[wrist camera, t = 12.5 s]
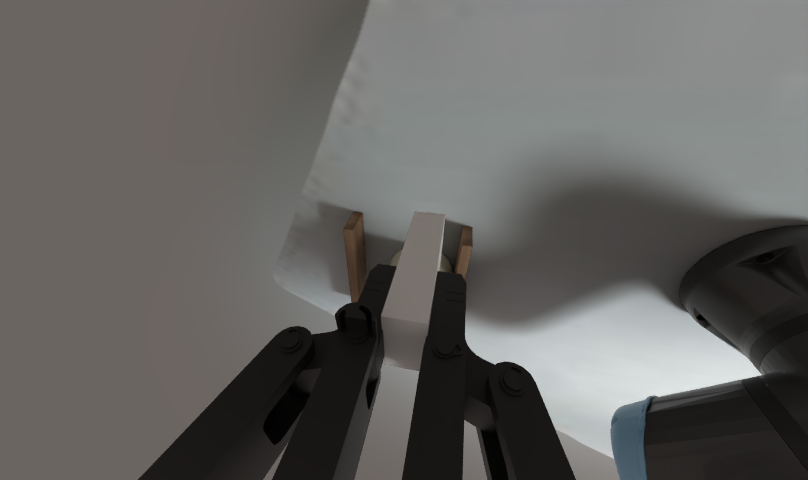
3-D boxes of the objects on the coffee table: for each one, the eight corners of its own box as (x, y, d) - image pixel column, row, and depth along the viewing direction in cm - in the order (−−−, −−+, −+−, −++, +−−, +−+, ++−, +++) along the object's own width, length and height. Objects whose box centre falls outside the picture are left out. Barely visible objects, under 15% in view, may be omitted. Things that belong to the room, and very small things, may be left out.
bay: (472, 227, 36) (472, 246, 33) (453, 314, 47) (452, 335, 44) (353, 212, 38) (343, 229, 35) (360, 299, 49) (353, 318, 45)
